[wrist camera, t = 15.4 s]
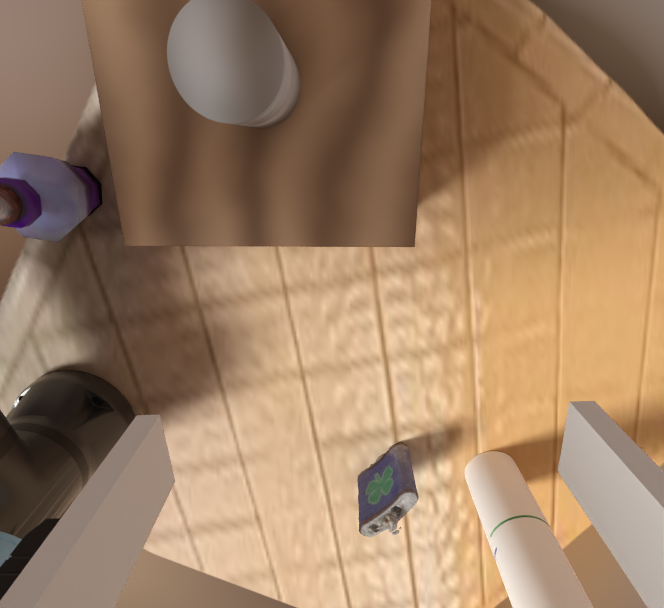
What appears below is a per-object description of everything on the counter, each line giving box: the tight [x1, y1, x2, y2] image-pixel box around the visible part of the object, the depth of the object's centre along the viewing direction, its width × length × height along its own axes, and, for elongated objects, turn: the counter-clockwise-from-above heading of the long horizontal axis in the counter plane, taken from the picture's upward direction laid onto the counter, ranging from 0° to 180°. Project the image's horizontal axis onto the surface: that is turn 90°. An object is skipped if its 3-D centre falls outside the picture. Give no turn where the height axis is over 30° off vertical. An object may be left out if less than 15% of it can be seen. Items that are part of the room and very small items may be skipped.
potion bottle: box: [0, 152, 102, 242], centre depth 42 cm, size 9×9×12 cm
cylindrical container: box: [465, 451, 593, 608], centre depth 48 cm, size 7×7×25 cm
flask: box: [357, 442, 418, 537], centre depth 55 cm, size 9×3×11 cm, turn 138°
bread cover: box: [81, 0, 431, 247], centre depth 33 cm, size 24×24×23 cm
